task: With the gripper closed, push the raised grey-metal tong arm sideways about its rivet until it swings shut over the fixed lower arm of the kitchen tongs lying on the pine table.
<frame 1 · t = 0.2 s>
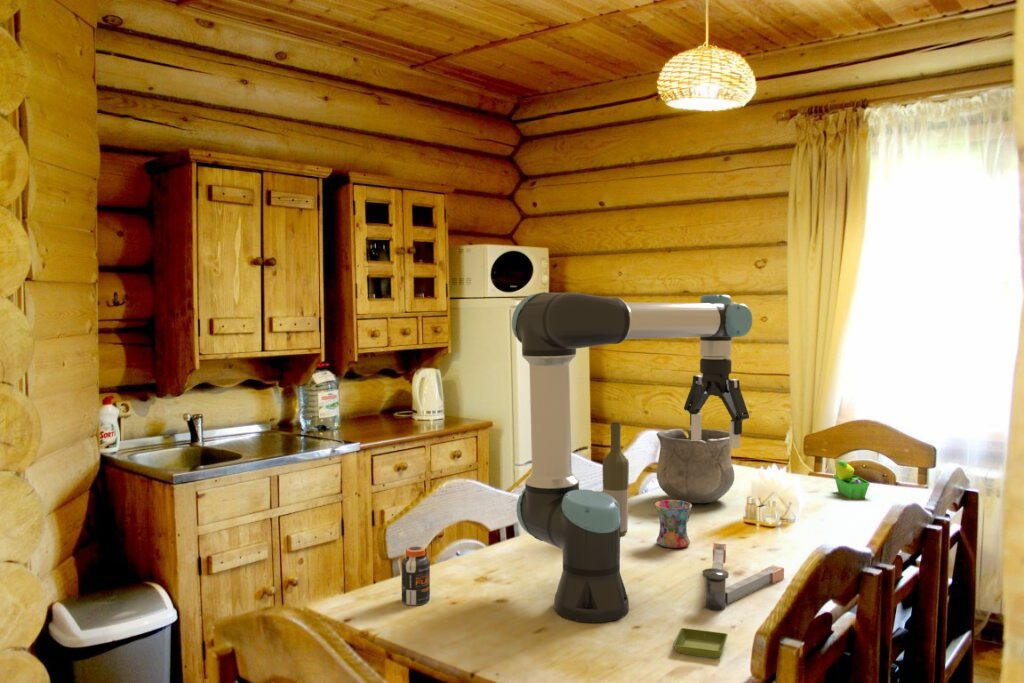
hand: (714, 443, 206), 27 cm above the table, fingers open, 13 cm apart
pill bottle: (415, 601, 177), on the table
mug: (676, 544, 216), on the table
fruit basket: (849, 495, 268), on the table
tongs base: (715, 607, 172), on the table
pot: (694, 502, 261), on the table
bottle: (615, 534, 226), on the table
green tray: (700, 651, 152), on the table
tong arm: (718, 565, 186), point 4 cm above the table, hinge at 30.0°
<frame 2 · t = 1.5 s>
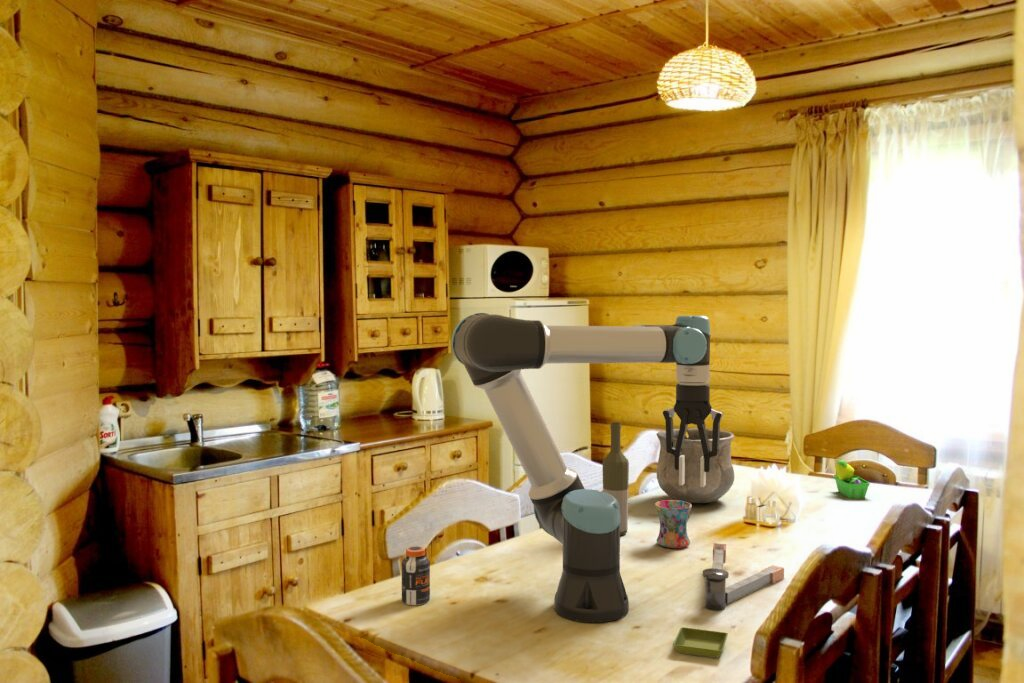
hand: (692, 484, 192), 21 cm above the table, fingers open, 4 cm apart
nothing on the table moved.
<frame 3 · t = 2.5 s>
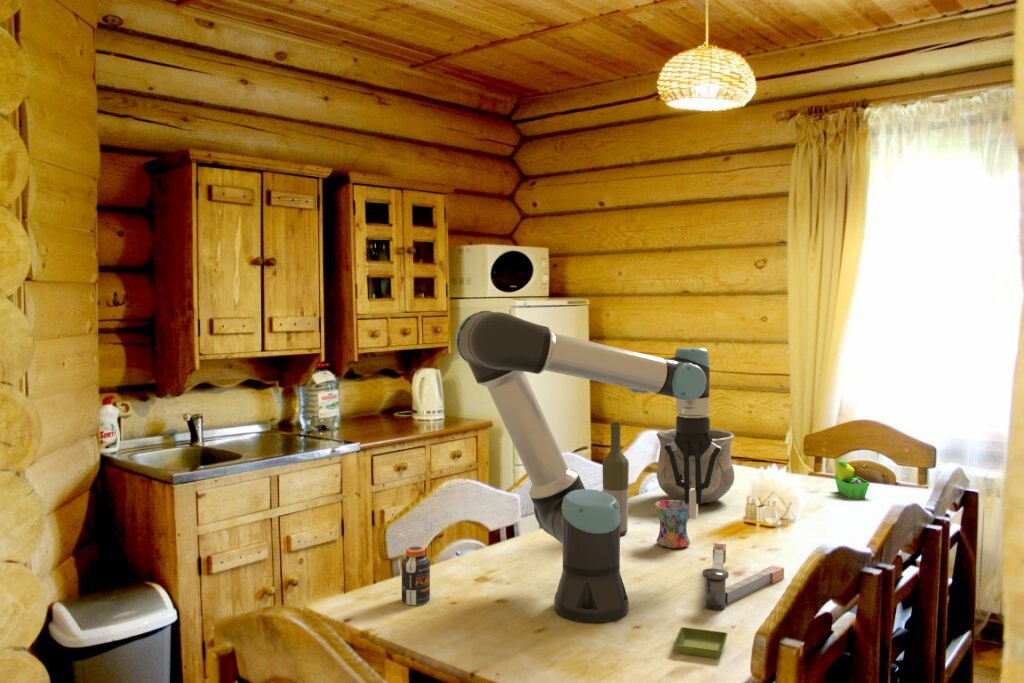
hand: (693, 517, 192), 13 cm above the table, fingers closed
nothing on the table moved.
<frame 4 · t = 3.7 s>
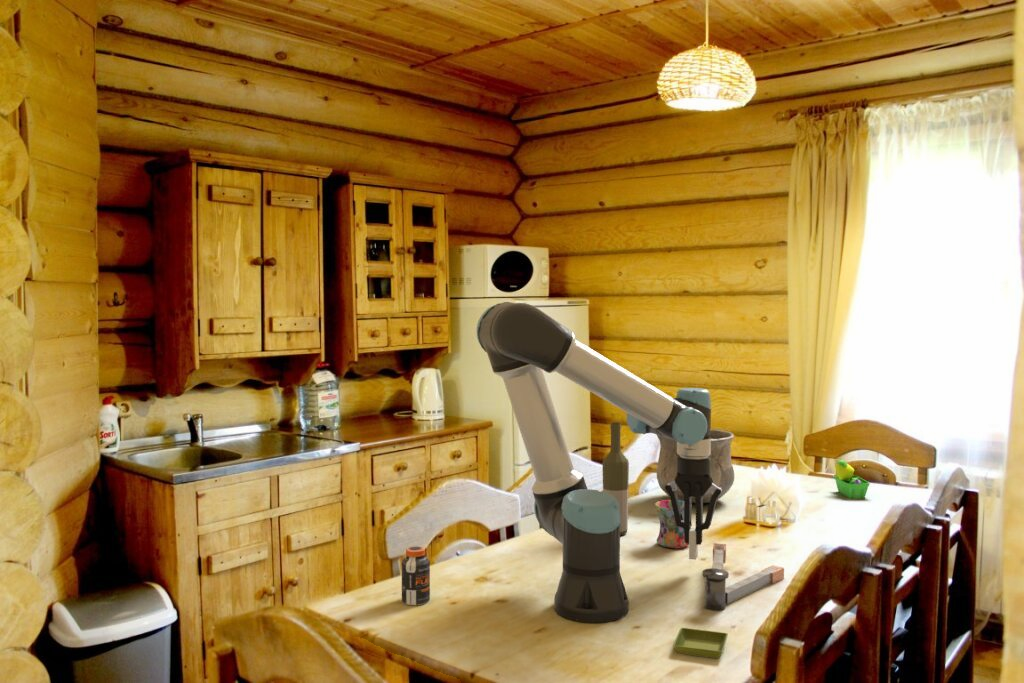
hand: (693, 557, 193), 4 cm above the table, fingers closed
nothing on the table moved.
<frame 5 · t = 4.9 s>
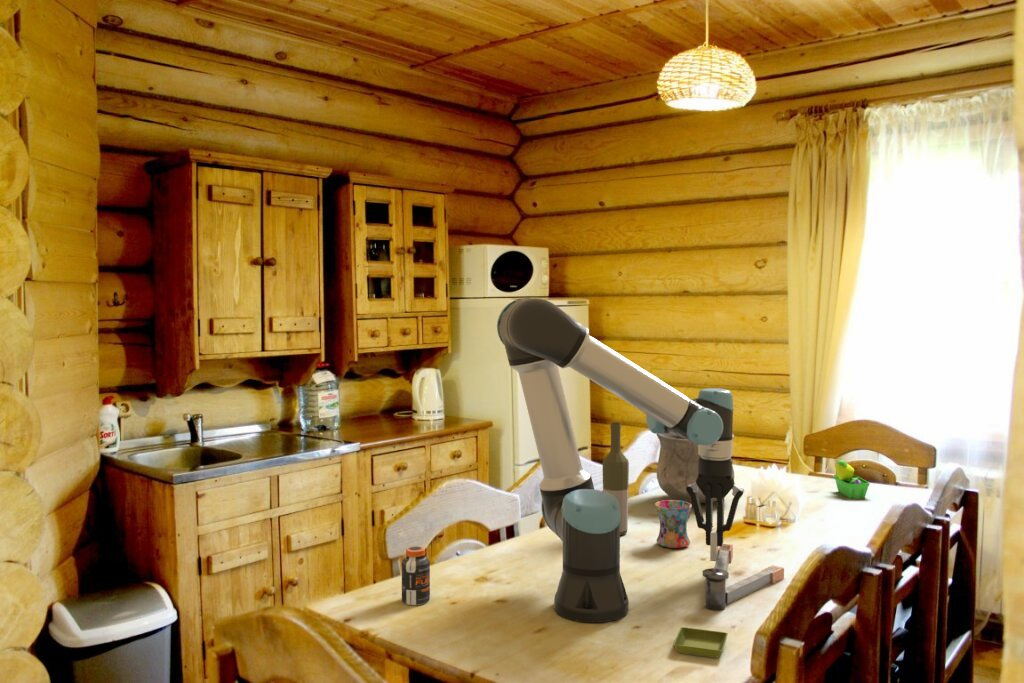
hand: (714, 559, 191), 4 cm above the table, fingers closed
tong arm: (721, 565, 185), point 4 cm above the table, hinge at 26.6°, touching gripper
everything else where it was.
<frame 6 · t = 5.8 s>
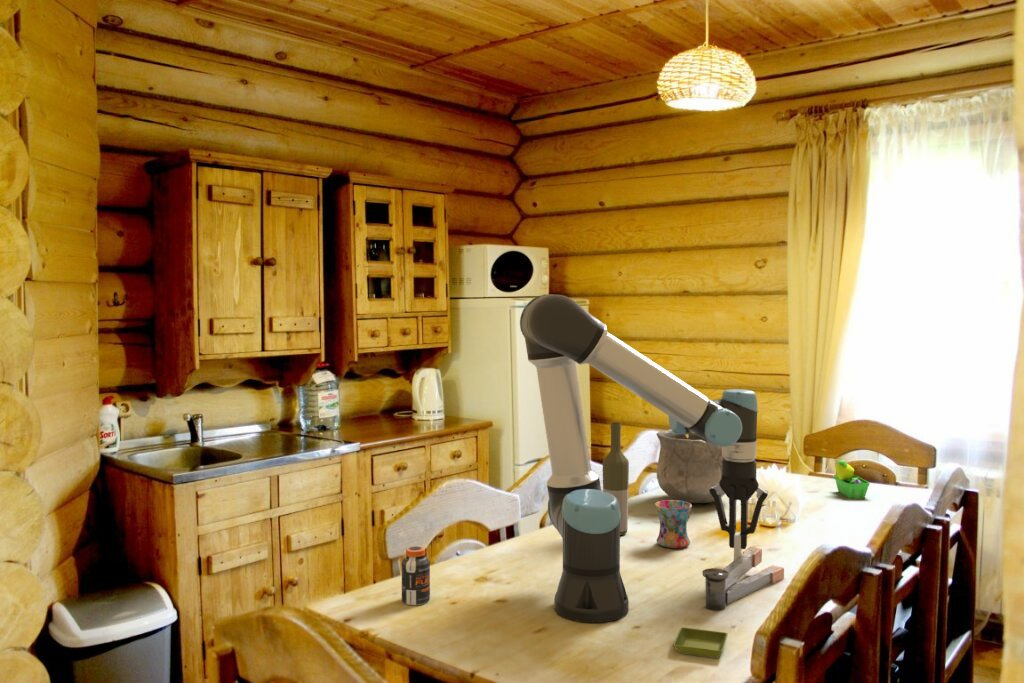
hand: (737, 562, 189), 4 cm above the table, fingers closed
tong arm: (739, 567, 184), point 4 cm above the table, hinge at 11.8°, touching gripper
everything else where it was.
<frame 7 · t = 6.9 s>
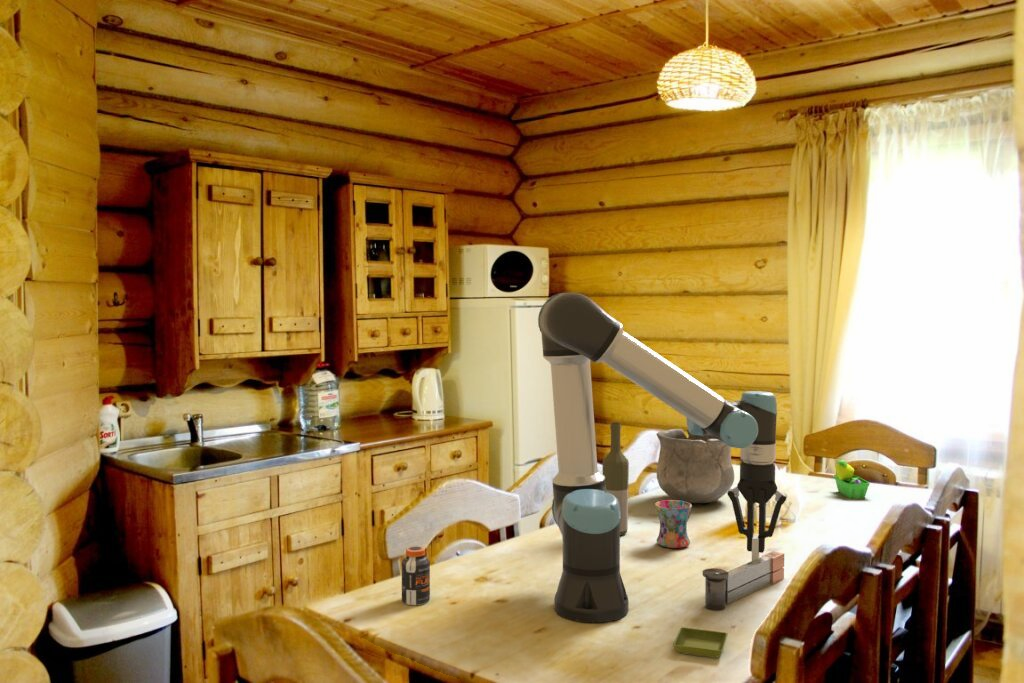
hand: (755, 565, 187), 4 cm above the table, fingers closed
tong arm: (752, 570, 182), point 4 cm above the table, hinge at -0.1°, touching gripper
everything else where it was.
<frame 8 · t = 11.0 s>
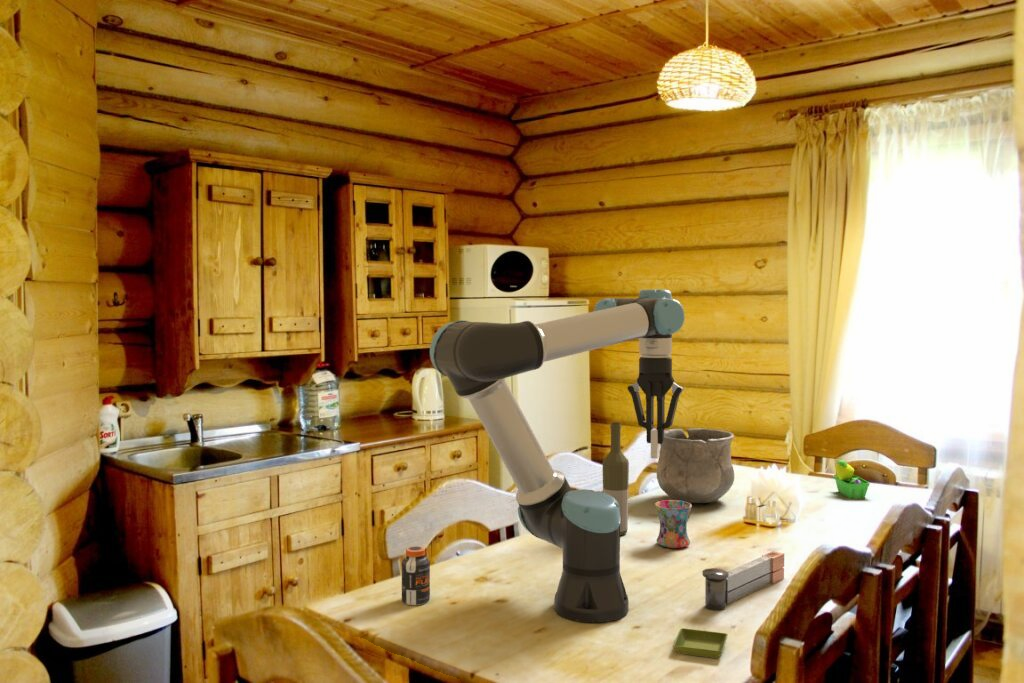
hand: (655, 457, 195), 26 cm above the table, fingers closed
tong arm: (752, 570, 182), point 4 cm above the table, hinge at -0.1°
everything else where it was.
at the end: tong arm at +0° (first picture: +30°); tong arm touching nothing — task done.
